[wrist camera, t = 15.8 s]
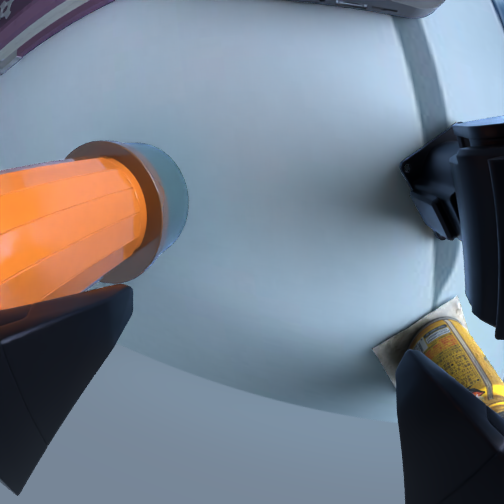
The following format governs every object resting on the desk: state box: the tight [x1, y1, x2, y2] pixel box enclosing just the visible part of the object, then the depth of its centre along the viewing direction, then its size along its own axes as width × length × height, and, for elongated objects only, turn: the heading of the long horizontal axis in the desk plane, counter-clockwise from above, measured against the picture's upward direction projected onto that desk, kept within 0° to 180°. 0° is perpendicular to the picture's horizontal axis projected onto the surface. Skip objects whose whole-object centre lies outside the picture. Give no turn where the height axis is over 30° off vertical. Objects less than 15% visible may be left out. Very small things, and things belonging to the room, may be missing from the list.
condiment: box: [372, 296, 504, 419], centre depth 17 cm, size 7×8×12 cm
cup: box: [0, 156, 147, 310], centre depth 11 cm, size 7×7×13 cm
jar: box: [65, 140, 188, 284], centre depth 20 cm, size 9×9×5 cm
